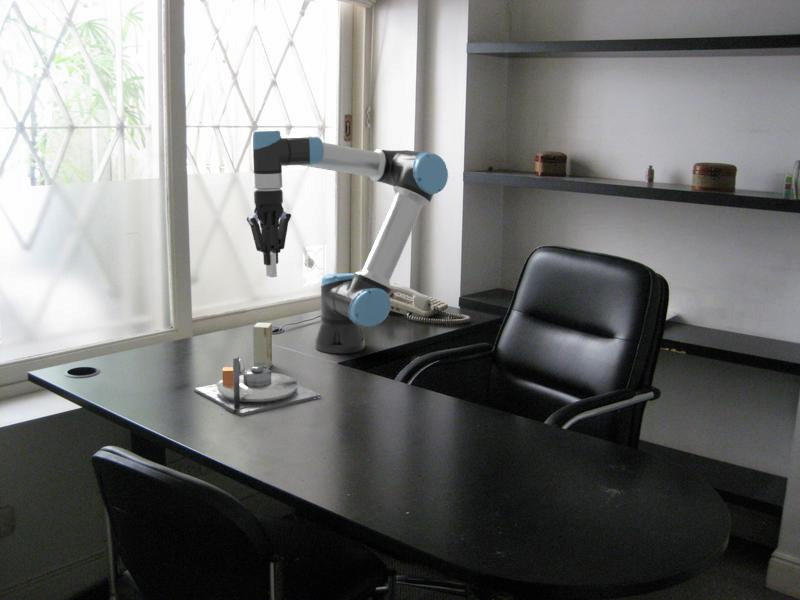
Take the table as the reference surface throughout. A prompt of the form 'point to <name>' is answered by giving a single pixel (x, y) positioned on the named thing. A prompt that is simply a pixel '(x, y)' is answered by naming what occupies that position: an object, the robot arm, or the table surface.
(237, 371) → the post
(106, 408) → the table surface
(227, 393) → the platter
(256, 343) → the skincare box
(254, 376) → the cover
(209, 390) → the turntable base
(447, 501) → the table surface
